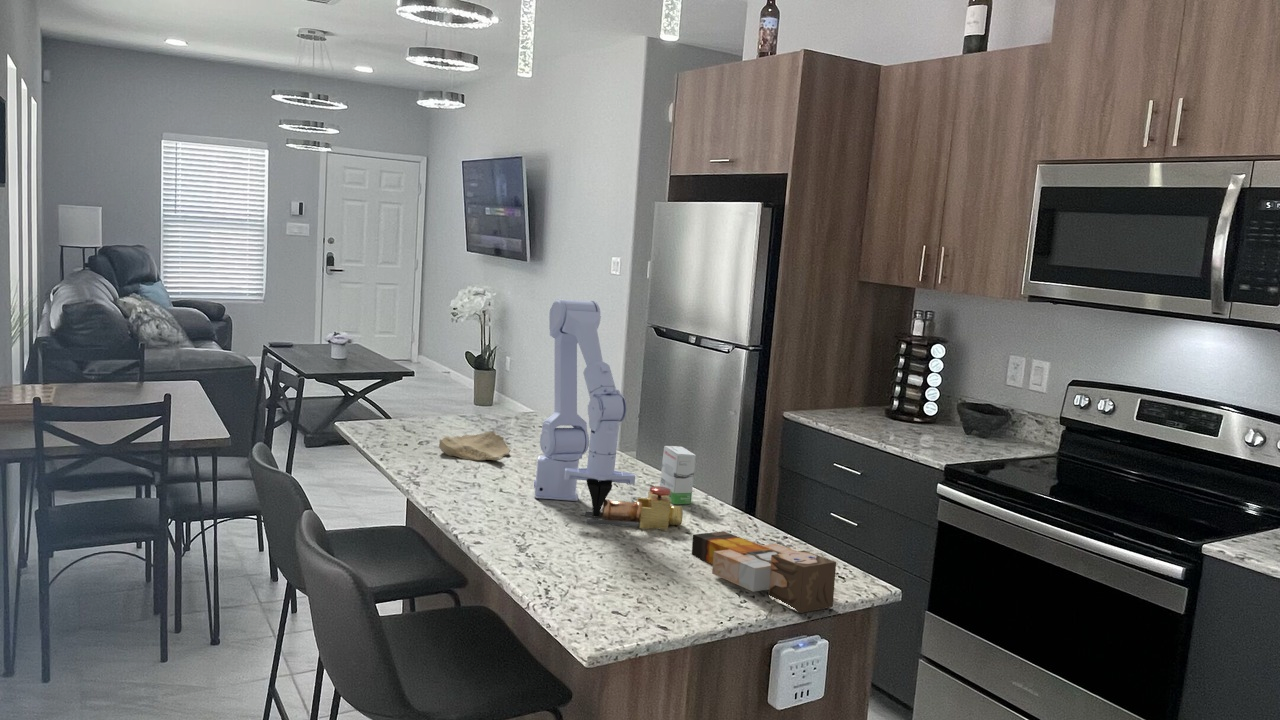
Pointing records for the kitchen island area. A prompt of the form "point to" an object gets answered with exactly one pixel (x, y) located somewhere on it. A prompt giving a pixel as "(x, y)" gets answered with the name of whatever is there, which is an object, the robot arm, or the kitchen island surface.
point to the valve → (659, 510)
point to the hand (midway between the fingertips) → (595, 514)
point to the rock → (475, 446)
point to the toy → (770, 569)
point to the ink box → (678, 473)
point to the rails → (609, 521)
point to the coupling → (621, 510)
